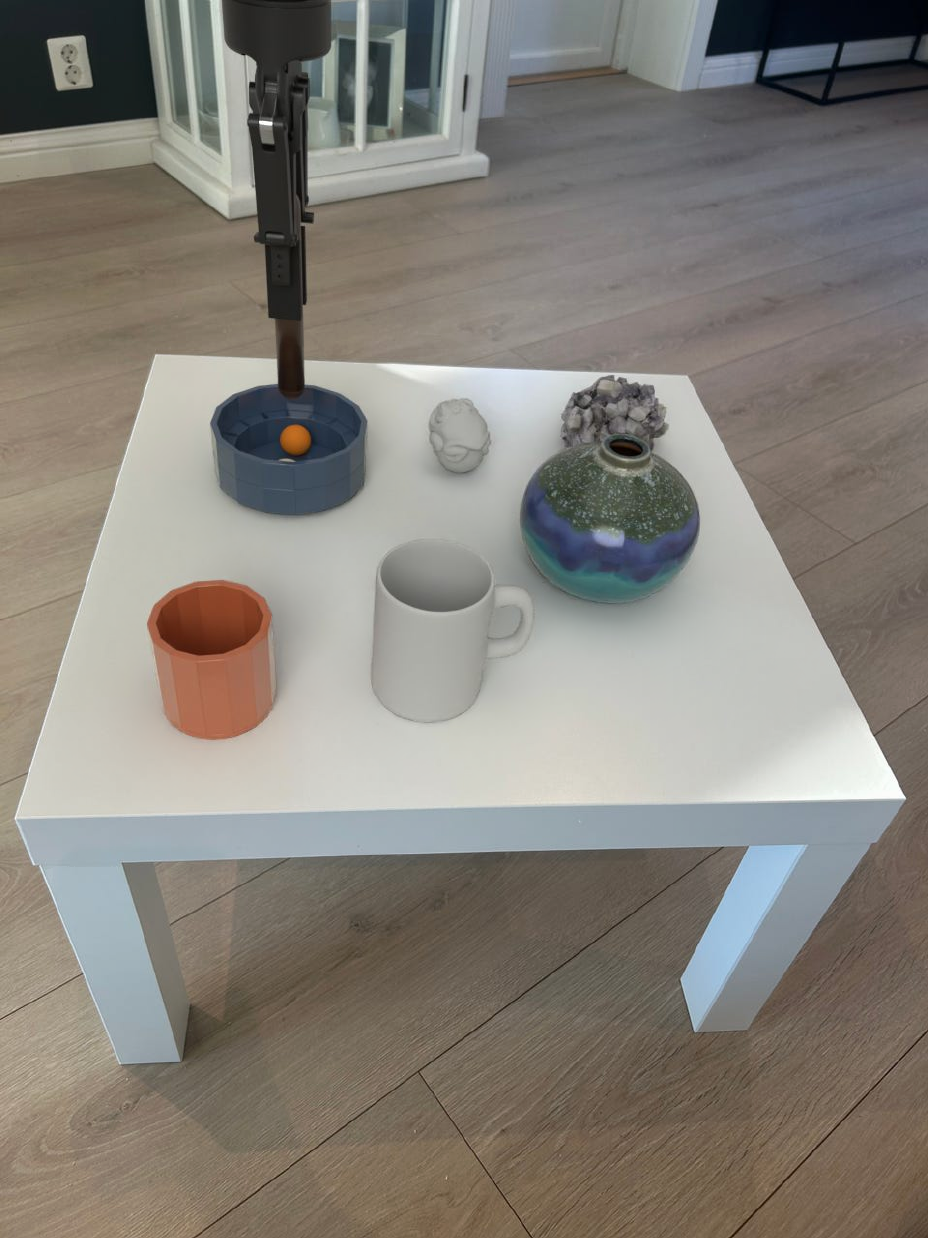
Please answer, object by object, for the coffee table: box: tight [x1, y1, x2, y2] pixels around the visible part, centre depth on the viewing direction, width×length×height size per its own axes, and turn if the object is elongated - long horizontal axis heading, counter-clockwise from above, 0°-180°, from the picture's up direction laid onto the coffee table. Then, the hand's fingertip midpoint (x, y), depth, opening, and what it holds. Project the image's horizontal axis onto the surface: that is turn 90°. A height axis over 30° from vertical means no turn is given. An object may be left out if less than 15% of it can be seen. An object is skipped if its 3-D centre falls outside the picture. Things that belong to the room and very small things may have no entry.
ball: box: [280, 425, 311, 456], centre depth 95 cm, size 3×3×3 cm
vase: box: [519, 434, 701, 604], centre depth 83 cm, size 15×15×13 cm
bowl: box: [209, 383, 369, 516], centre depth 92 cm, size 14×14×6 cm
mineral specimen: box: [559, 374, 670, 452], centre depth 100 cm, size 12×9×10 cm
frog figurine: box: [428, 397, 492, 474], centre depth 95 cm, size 6×7×7 cm
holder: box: [146, 579, 277, 740], centre depth 69 cm, size 8×8×8 cm
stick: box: [274, 195, 306, 399], centre depth 82 cm, size 2×2×18 cm
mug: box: [370, 538, 535, 723], centre depth 72 cm, size 12×8×11 cm
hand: (288, 308), depth 82 cm, fingers closed on stick, 2 cm apart
